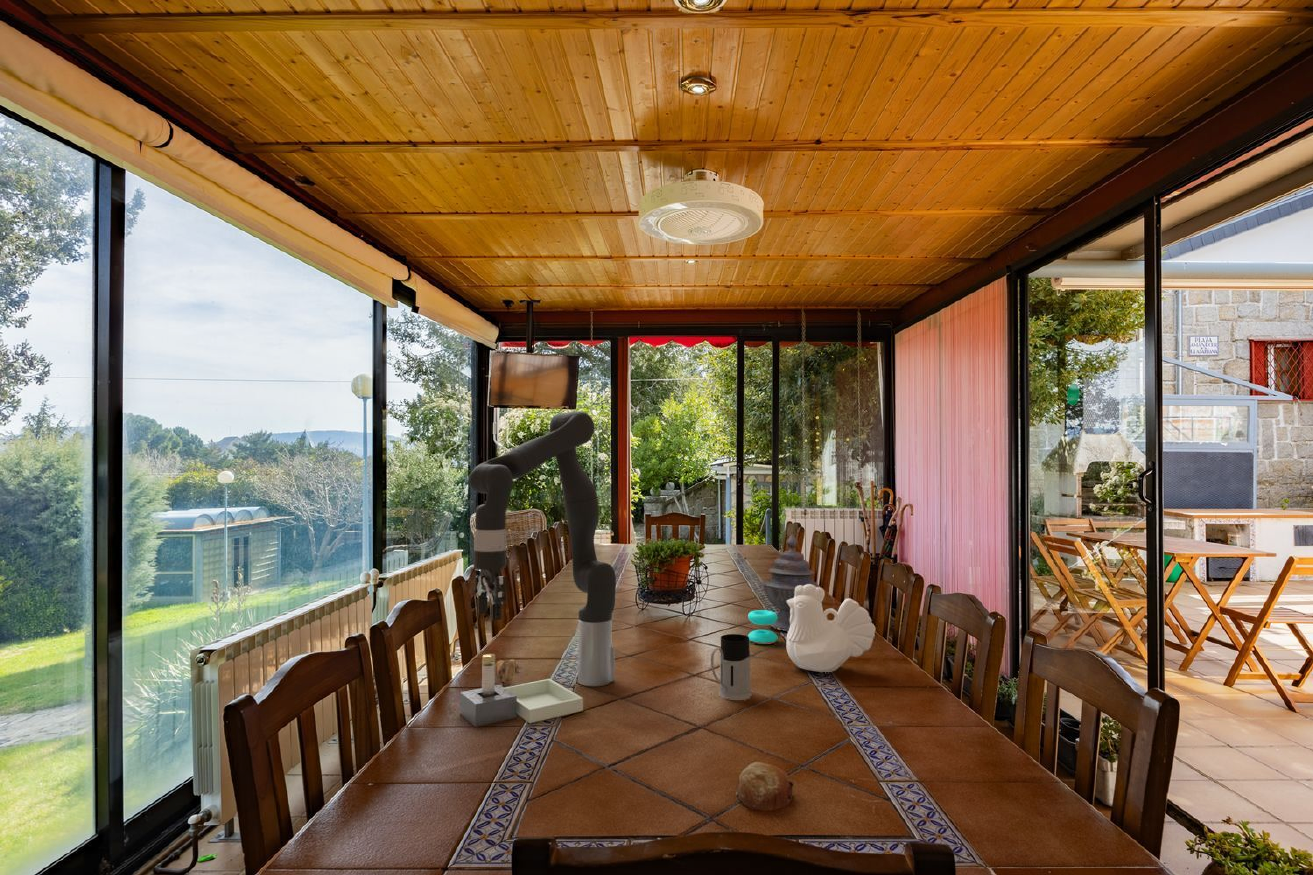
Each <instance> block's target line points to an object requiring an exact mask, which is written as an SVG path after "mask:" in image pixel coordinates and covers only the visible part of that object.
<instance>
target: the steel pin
mask: <svg viewBox="0 0 1313 875" xmlns="http://www.w3.org/2000/svg"><path fill="white" fill-rule="evenodd" d="M481 657H482V661H481V688H482V698H487V697H492V696H495V665H496V654H494V653H486V654H483V655H482V656H481Z"/></svg>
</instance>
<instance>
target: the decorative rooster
mask: <svg viewBox="0 0 1313 875" xmlns="http://www.w3.org/2000/svg"><path fill="white" fill-rule="evenodd" d="M825 592H826V591H825V590H824V589H823V588H822V587H820V586H819V587H816V586H814V585H812V584H807V585H804V586H802V585H799V586H797V587H796V588H795V596H794V598H792V599H789V600H787V601H786V602H787V604H788V605H789V607H790V624H791V625H790V628H789V631H788V632H787V634H786V637H785V638H786V643H785V644H786V646H785V647H786V652H787V654H788V657H789V658H790V660H791V662H793V664H795V665H796V666H797V667H798V668H800V669H803V670H805V671H807V670H808V671H812V672H818V673H823V672H825V673H824V674H827V673H826V672H832V671H834V672H835V671H836V670H838V669H839V668H840V667H841V666H842V665H843V664H844V663H845V662H846V661H847V660H848V659H849V658H850V657H852V658H853V657H855V658H857V657H858V658H859V657H861V656H862V655H863V654H864V652H867V651H869V650H870V649H871V647H872V644H873V640H874V638H875V634H876V633H875V632H876V626H875V625H874V623H872V618H871V616H870V613H869V612H868V610H867V609H865V608H864V607H862V606H861V605H860V604H859V602H857V601H855V600H853V599H852V598H849V597H848V598H845V599H844V600H843V602H842V603H841V605H840V606H839V608H838V610H835V609H834V608H832V607H831V608H826V609H825V610H823V604H822V602H823V600H824V598H825V594H826V593H825ZM829 614H832V615H833V616H834V617H833V619H832V620H831V619H828V615H829ZM832 673H833V672H832Z"/></svg>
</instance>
